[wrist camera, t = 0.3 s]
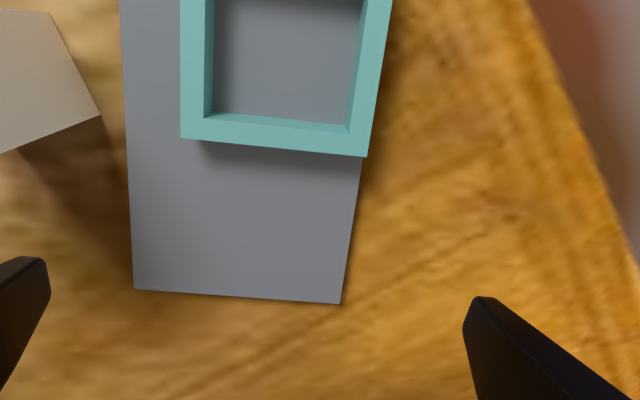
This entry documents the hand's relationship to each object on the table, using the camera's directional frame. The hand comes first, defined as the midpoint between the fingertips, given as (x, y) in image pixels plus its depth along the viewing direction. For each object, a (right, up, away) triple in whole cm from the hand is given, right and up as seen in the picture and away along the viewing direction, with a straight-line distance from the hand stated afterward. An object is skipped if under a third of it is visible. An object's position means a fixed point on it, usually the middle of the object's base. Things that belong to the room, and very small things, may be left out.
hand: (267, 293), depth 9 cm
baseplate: (-3, +5, +13) cm, 14 cm away
